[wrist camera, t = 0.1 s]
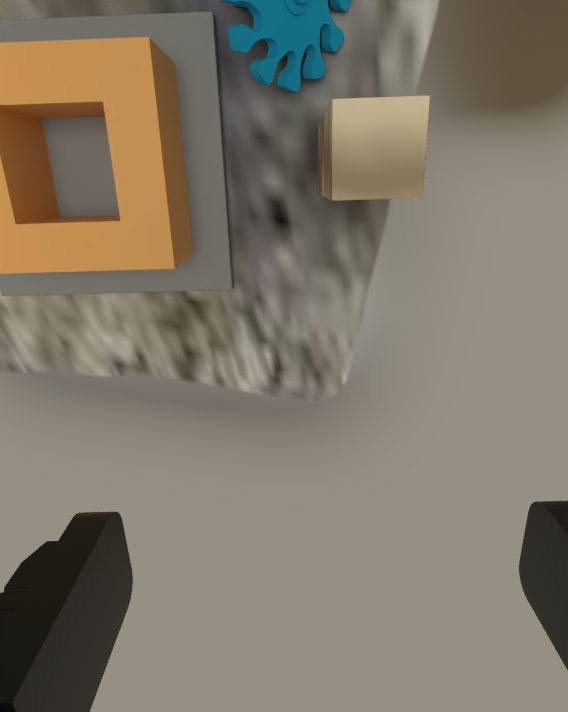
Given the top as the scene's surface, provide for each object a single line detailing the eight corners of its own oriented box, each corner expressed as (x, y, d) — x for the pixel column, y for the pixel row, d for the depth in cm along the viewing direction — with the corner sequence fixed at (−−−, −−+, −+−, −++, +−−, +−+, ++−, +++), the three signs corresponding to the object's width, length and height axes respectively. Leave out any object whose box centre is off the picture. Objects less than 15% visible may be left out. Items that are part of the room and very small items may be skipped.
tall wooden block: (317, 126, 33) (332, 99, 22) (381, 124, 33) (429, 95, 22) (318, 194, 35) (332, 200, 23) (379, 192, 35) (422, 197, 23)
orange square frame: (-55, 27, 31) (-147, -14, 25) (214, 16, 31) (194, -28, 24) (8, 293, 37) (-51, 317, 31) (233, 286, 37) (221, 309, 31)
